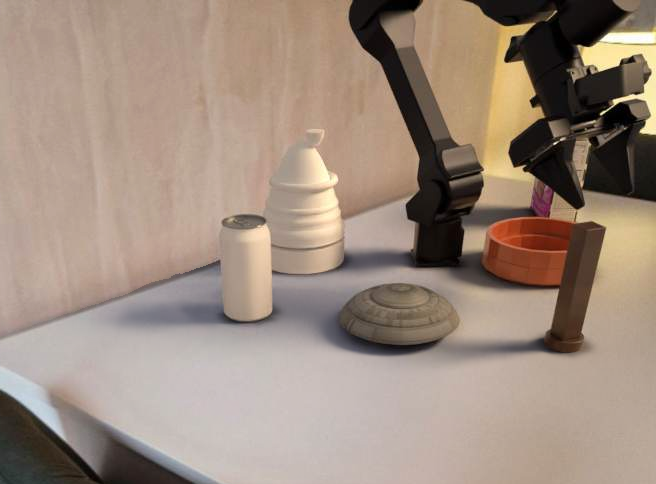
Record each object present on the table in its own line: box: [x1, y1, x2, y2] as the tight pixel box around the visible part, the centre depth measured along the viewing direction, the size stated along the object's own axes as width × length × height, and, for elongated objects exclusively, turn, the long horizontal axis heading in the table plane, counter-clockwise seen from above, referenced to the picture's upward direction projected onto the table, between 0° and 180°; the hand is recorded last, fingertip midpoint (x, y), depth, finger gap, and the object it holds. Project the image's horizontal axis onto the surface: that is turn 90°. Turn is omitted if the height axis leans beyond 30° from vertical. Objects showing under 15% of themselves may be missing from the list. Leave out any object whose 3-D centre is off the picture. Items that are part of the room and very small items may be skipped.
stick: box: [543, 220, 607, 353], centre depth 87 cm, size 4×4×14 cm
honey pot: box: [262, 128, 346, 275], centre depth 111 cm, size 13×13×18 cm
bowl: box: [481, 216, 578, 287], centre depth 110 cm, size 16×16×5 cm
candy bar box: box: [529, 128, 592, 222], centre depth 124 cm, size 11×5×16 cm, turn 179°
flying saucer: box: [338, 282, 461, 346], centre depth 95 cm, size 15×15×6 cm
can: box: [218, 213, 273, 323], centre depth 98 cm, size 6×6×12 cm
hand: (606, 200), depth 90 cm, fingers open, 9 cm apart
